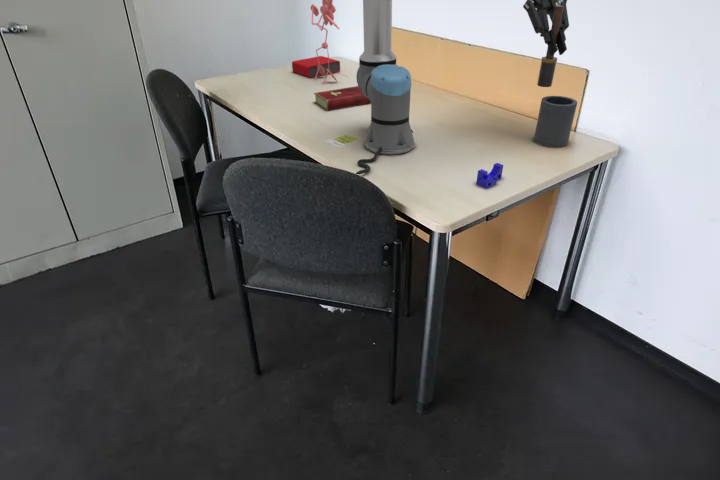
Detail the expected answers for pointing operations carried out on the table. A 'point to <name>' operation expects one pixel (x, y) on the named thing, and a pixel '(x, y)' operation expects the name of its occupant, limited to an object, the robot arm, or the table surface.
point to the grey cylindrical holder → (555, 121)
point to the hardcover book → (341, 98)
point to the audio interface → (315, 66)
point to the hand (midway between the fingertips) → (558, 52)
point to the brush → (549, 61)
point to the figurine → (328, 16)
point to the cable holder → (489, 176)
